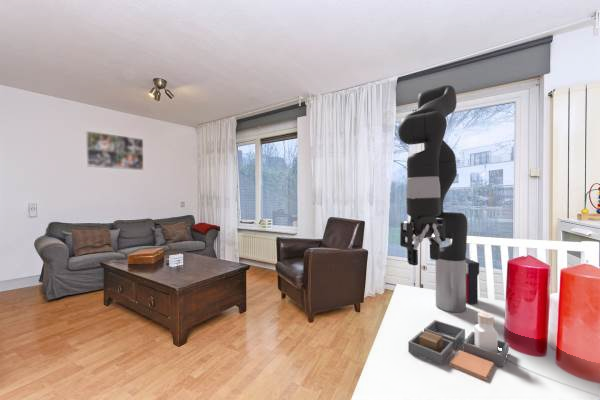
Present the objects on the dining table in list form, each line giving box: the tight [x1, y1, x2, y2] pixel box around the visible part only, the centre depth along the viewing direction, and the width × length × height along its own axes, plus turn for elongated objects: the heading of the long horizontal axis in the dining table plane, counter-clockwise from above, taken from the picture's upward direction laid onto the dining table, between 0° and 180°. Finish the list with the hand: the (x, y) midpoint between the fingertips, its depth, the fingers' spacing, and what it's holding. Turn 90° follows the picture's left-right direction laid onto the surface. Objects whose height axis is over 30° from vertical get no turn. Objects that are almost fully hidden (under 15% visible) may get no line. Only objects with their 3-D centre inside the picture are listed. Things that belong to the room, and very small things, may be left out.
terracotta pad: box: [449, 349, 495, 382], centre depth 61 cm, size 7×7×1 cm
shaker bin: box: [462, 331, 510, 368], centre depth 66 cm, size 8×8×2 cm
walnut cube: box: [419, 331, 443, 353], centre depth 66 cm, size 4×4×4 cm
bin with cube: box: [407, 330, 454, 366], centre depth 66 cm, size 8×8×2 cm
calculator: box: [466, 257, 480, 305], centre depth 100 cm, size 11×4×15 cm, turn 178°
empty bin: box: [423, 319, 466, 351], centre depth 73 cm, size 8×8×2 cm
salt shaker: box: [474, 311, 499, 354], centre depth 66 cm, size 4×4×10 cm
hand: (424, 261), depth 65 cm, fingers open, 8 cm apart
